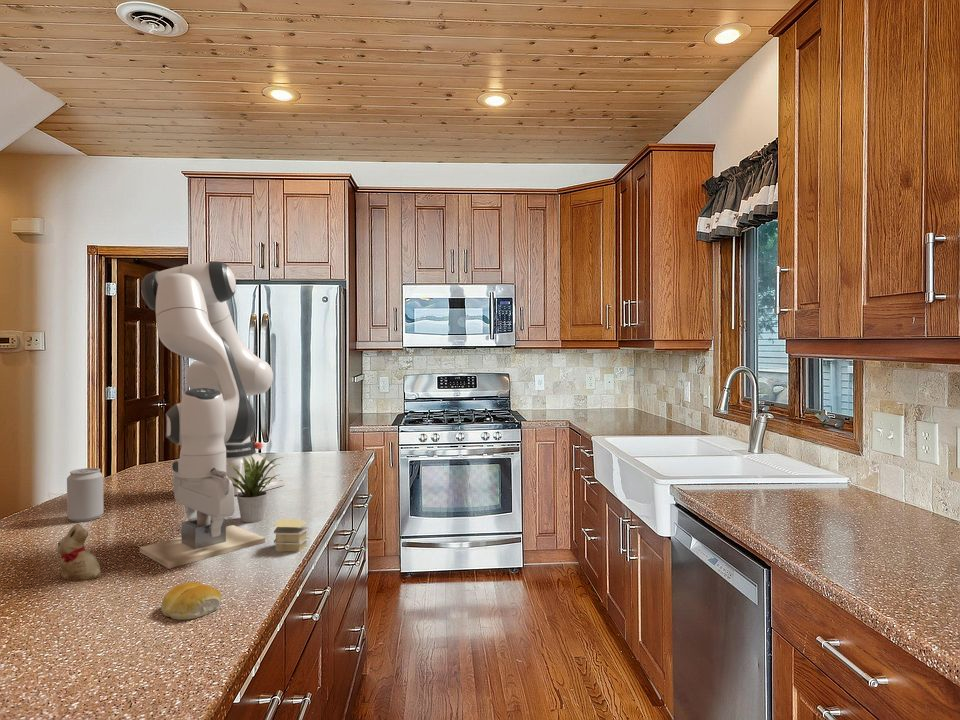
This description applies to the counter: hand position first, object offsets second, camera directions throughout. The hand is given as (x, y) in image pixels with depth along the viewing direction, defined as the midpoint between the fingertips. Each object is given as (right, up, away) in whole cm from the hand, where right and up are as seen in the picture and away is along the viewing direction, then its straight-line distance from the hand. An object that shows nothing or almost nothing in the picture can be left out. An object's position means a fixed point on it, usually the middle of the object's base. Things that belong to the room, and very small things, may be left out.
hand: (204, 531), depth 125 cm
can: (-39, -3, +21) cm, 44 cm away
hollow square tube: (0, -2, 0) cm, 2 cm away
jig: (0, -3, 0) cm, 3 cm away
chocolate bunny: (-16, -4, -16) cm, 22 cm away
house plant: (+4, -3, +20) cm, 21 cm away
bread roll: (+12, -5, -29) cm, 32 cm away
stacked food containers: (+18, -4, 0) cm, 19 cm away
